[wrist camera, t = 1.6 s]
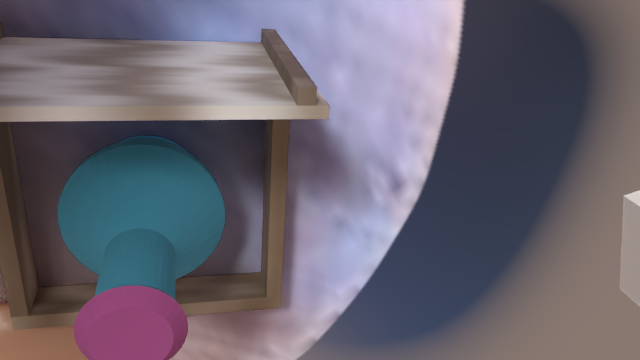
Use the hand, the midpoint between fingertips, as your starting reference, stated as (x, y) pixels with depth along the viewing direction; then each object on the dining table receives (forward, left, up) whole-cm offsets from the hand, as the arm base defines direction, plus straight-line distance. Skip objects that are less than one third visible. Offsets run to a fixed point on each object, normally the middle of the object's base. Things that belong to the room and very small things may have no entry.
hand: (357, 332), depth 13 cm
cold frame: (-6, -8, -25) cm, 27 cm away
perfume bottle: (-6, -8, -25) cm, 27 cm away
